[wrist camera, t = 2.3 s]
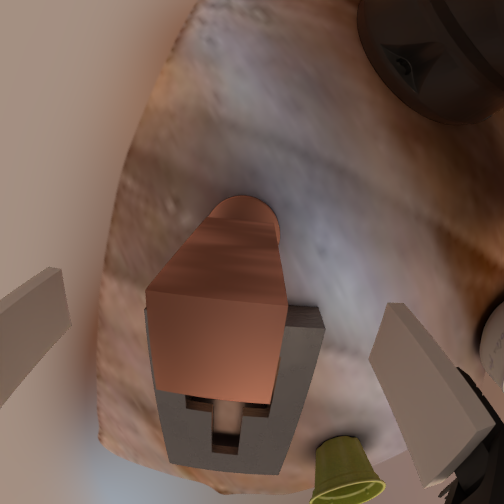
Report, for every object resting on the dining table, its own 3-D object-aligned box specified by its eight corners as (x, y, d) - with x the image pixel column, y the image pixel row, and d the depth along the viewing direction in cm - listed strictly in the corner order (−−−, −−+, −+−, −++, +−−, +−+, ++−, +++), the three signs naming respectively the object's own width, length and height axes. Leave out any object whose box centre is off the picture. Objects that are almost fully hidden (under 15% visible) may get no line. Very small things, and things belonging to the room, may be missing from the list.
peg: (283, 199, 22) (322, 281, 8) (274, 268, 24) (288, 418, 9) (209, 192, 22) (118, 260, 8) (205, 261, 24) (138, 399, 9)
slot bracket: (318, 307, 25) (325, 328, 21) (277, 455, 32) (278, 475, 29) (157, 290, 25) (144, 309, 21) (174, 444, 32) (169, 463, 29)
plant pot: (367, 418, 30) (384, 473, 21) (373, 450, 32) (386, 496, 24) (296, 440, 31) (300, 496, 23) (312, 468, 34) (318, 515, 25)
